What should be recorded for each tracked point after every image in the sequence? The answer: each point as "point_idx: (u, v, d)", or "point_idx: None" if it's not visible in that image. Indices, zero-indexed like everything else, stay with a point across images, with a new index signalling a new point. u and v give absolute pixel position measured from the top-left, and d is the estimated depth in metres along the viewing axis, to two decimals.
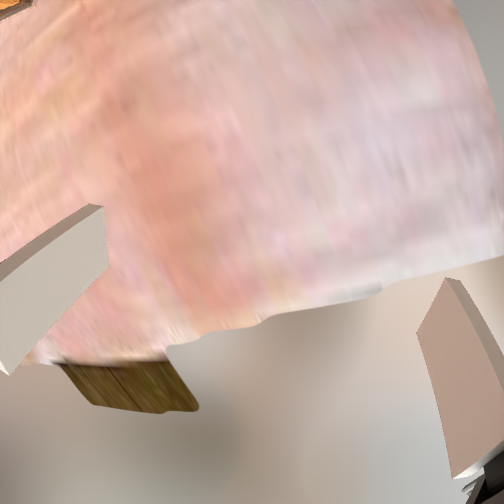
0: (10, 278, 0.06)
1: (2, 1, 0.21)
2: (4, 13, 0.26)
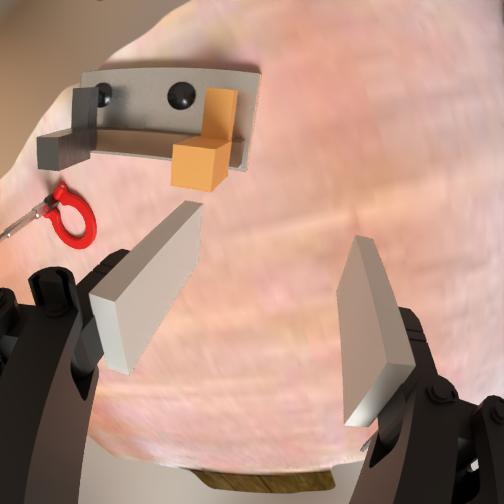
0: None
1: (219, 180, 0.24)
2: None
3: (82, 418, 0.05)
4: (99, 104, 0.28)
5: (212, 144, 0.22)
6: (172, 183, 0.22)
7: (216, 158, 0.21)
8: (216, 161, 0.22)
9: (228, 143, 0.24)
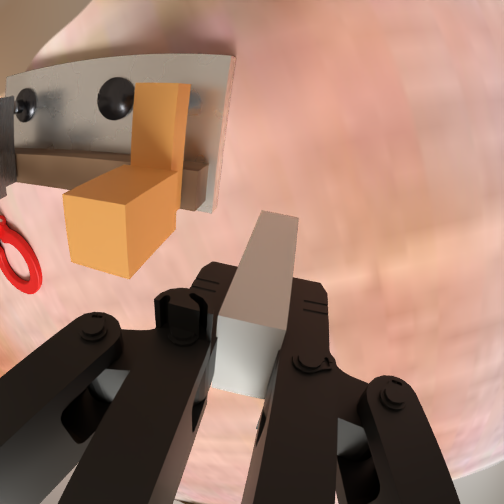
0: None
1: (154, 246, 0.14)
2: None
3: (187, 451, 0.05)
4: (23, 118, 0.18)
5: (132, 187, 0.12)
6: (73, 258, 0.12)
7: (134, 218, 0.11)
8: (135, 223, 0.11)
9: (168, 179, 0.14)
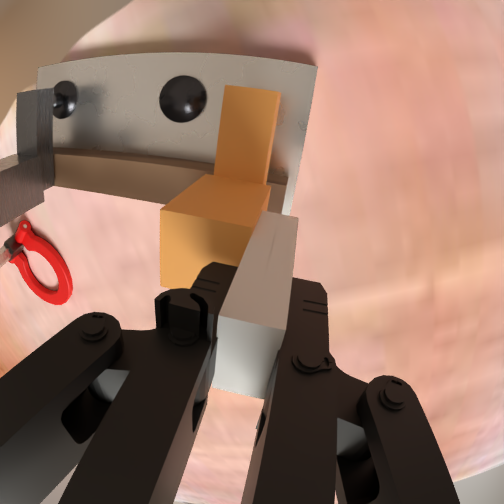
0: None
1: None
2: None
3: (187, 451, 0.05)
4: (60, 114, 0.18)
5: (241, 204, 0.11)
6: (163, 282, 0.12)
7: None
8: None
9: (267, 195, 0.13)
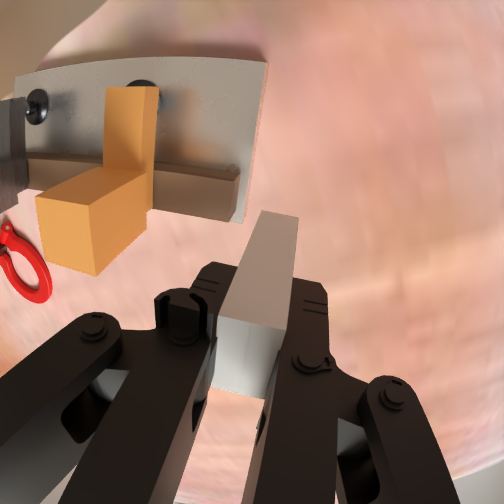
0: None
1: (122, 245, 0.14)
2: None
3: (187, 451, 0.05)
4: (33, 120, 0.18)
5: (98, 189, 0.12)
6: (46, 257, 0.12)
7: (98, 218, 0.11)
8: (100, 222, 0.11)
9: (135, 180, 0.14)
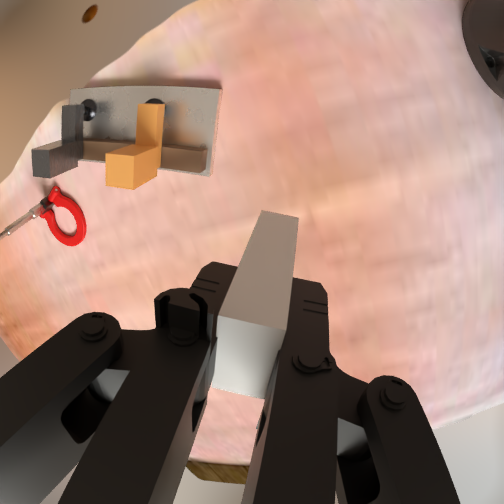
0: None
1: (145, 180, 0.28)
2: None
3: (187, 451, 0.05)
4: (85, 118, 0.32)
5: (136, 151, 0.26)
6: (106, 184, 0.26)
7: (137, 162, 0.26)
8: (137, 165, 0.26)
9: (153, 149, 0.28)
